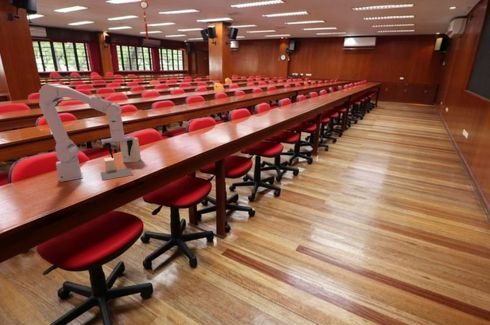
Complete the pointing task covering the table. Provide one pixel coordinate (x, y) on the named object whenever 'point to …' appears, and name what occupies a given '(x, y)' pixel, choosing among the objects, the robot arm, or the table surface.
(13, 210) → the table surface
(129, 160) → the small box
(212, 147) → the table surface
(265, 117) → the table surface
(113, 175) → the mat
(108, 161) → the eraser block
